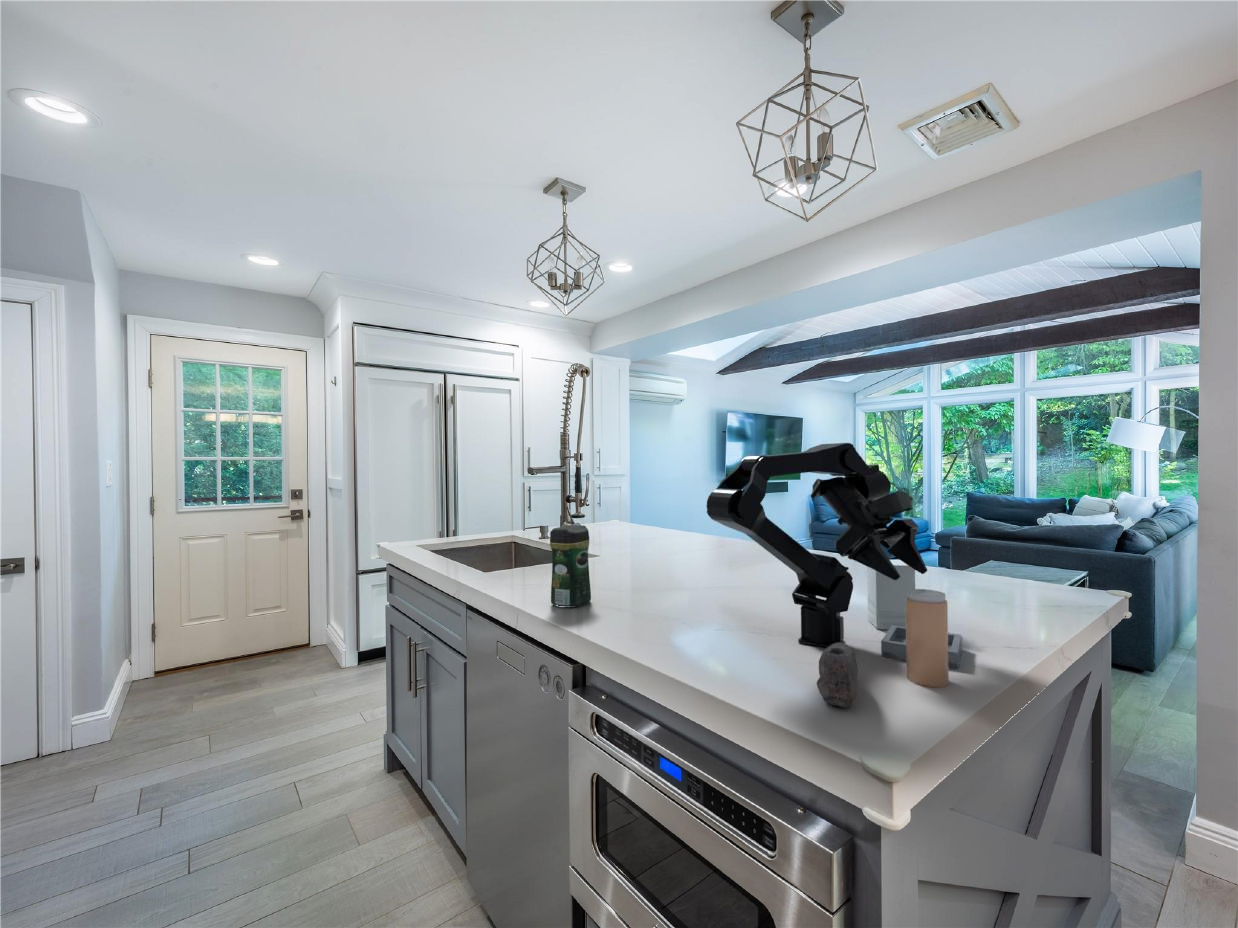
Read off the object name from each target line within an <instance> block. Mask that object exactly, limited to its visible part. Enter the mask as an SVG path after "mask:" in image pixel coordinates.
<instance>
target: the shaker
mask: <svg viewBox="0 0 1238 928" xmlns="http://www.w3.org/2000/svg"><path fill="white" fill-rule="evenodd" d="M905 603H906V660H905V663H906V667H905V668H906V679H907V680H908V681H909V682H911V683H913V684H916V685H919V686H922V687H930V688H945V687H947V686H949V684H950V683H949V682H950V681H949V678H950V676H949V670H950V669H949V667H948V633H949V627H948V626H949V623H948V621H949V617H948V615H949V614H948V609H949V608H948V600H947V599H946V593H945V592H942V591H939V590H933V589H926V588H925V589H923V588H922V589H921V588H915V589H911V590H908V591H907V597H906V598H905Z"/></svg>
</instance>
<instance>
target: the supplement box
mask: <svg viewBox="0 0 1238 928" xmlns="http://www.w3.org/2000/svg"><path fill="white" fill-rule="evenodd" d="M889 560H890V561H891V563H892V564H893V565H894V567H895V568H896V570H897V571H898V573H899V575H900V578H899V579H897V580H893V579H891V578H889V577H887V576H885V575H883V574H881V573H879V572H877V571H876V570H874V569H871V568H869V567H867V566H866V584H867V585H866V589H867V591H866V592H867V620H868V621H869V622H870V623H871V625H873V626H874V628H875V629H877V630H887V631H888V630H889V628H890V627H891V625H894V626H901V627H906V603H905V598H906V597H907V591H908V590H911V589H916V570H915V569H913V568H911V567H910V566H908V565H907V564H905V563H904V562H902V561H901V560H899V559H889Z"/></svg>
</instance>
